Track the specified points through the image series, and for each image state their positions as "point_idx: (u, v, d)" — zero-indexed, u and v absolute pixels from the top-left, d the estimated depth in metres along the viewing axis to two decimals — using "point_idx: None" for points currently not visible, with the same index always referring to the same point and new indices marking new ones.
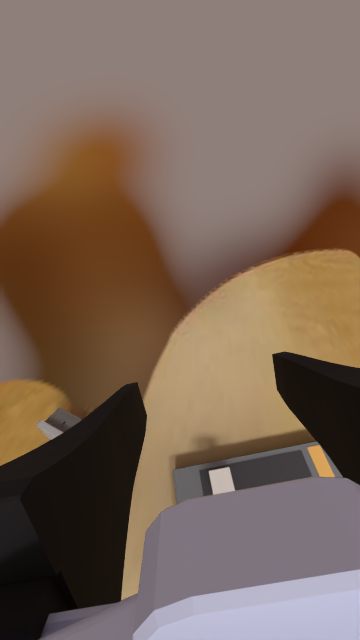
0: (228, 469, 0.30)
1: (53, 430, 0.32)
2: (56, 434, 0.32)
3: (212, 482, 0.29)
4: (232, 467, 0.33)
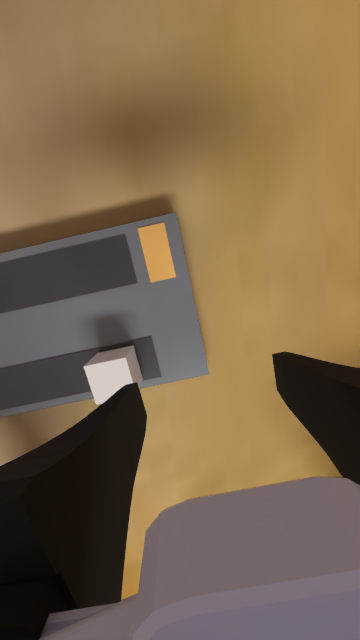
0: None
1: None
2: None
3: None
4: None
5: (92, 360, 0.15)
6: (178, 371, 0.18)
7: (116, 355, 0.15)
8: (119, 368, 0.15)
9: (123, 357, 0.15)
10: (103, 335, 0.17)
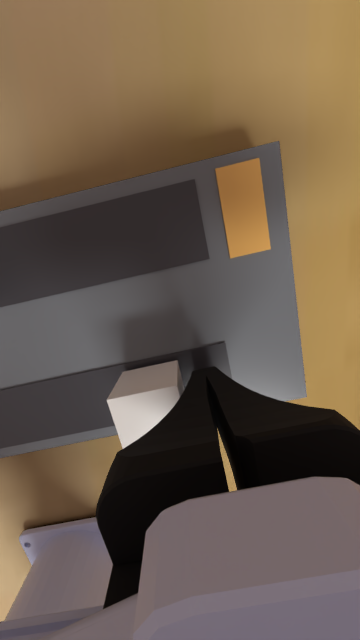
0: None
1: None
2: None
3: None
4: None
5: (119, 387, 0.10)
6: (261, 393, 0.12)
7: (158, 379, 0.10)
8: (166, 403, 0.09)
9: (172, 384, 0.09)
10: (153, 340, 0.11)
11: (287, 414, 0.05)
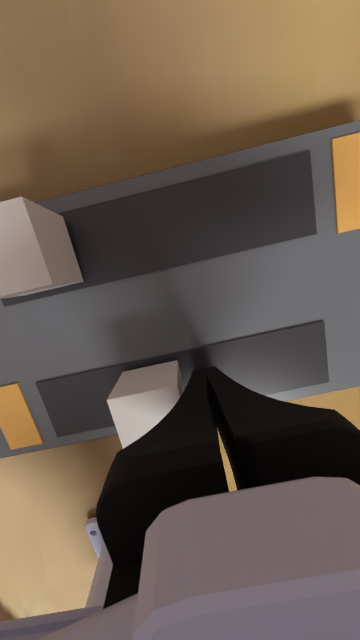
0: (19, 205, 0.07)
1: None
2: None
3: None
4: (80, 220, 0.10)
5: (119, 387, 0.10)
6: (354, 374, 0.12)
7: (158, 379, 0.10)
8: (166, 402, 0.09)
9: (172, 384, 0.09)
10: (250, 319, 0.11)
11: (287, 414, 0.05)
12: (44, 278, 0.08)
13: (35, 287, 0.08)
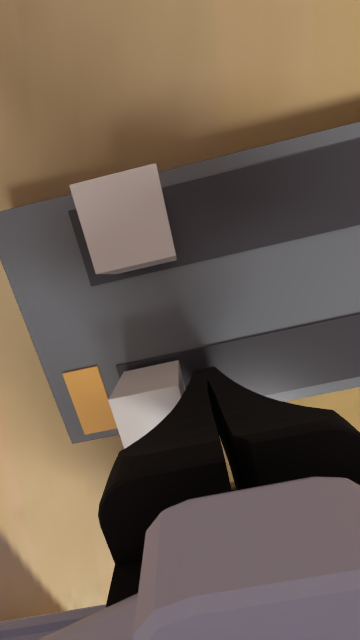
0: (152, 172, 0.07)
1: None
2: None
3: (87, 225, 0.07)
4: (175, 197, 0.10)
5: (120, 387, 0.10)
6: None
7: (159, 379, 0.10)
8: (167, 402, 0.09)
9: (173, 384, 0.09)
10: (338, 300, 0.11)
11: (285, 414, 0.05)
12: (169, 249, 0.08)
13: (157, 259, 0.08)
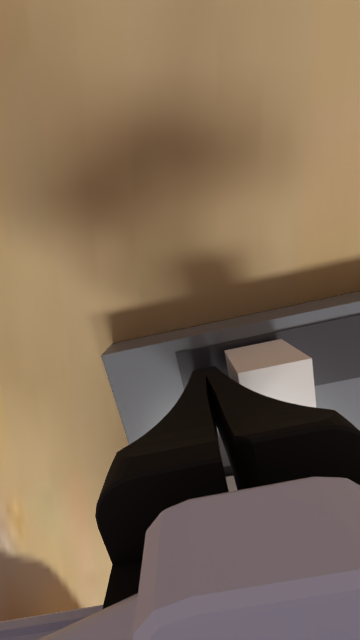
0: (307, 365, 0.09)
1: None
2: None
3: None
4: None
5: None
6: None
7: None
8: None
9: None
10: None
11: (287, 414, 0.05)
12: None
13: None
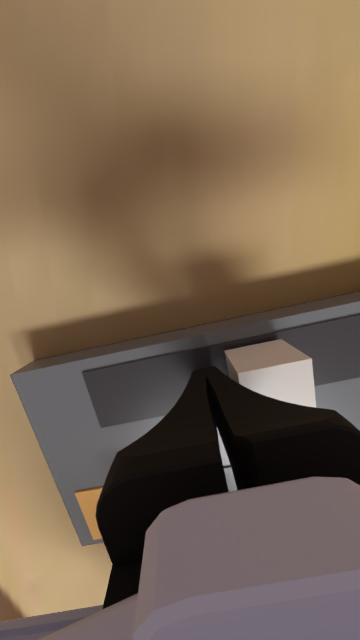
0: (307, 365, 0.09)
1: None
2: None
3: None
4: (173, 362, 0.12)
5: None
6: None
7: None
8: None
9: None
10: None
11: (287, 414, 0.05)
12: None
13: None
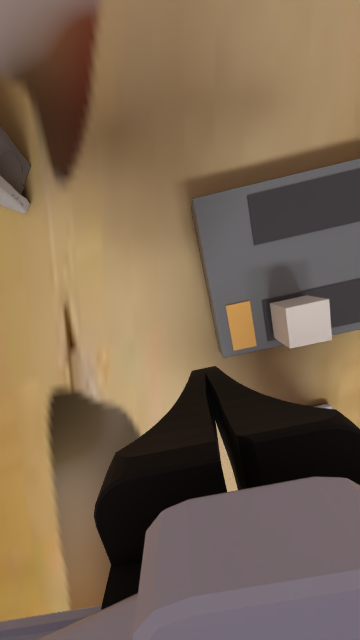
0: None
1: None
2: None
3: None
4: (315, 187, 0.16)
5: (283, 305, 0.15)
6: None
7: (309, 300, 0.15)
8: (320, 310, 0.15)
9: (325, 299, 0.15)
10: None
11: (288, 414, 0.05)
12: None
13: None
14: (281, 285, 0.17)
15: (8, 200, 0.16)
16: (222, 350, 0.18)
